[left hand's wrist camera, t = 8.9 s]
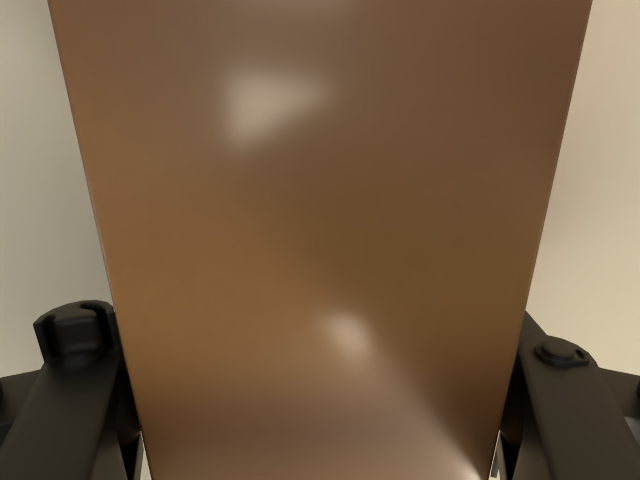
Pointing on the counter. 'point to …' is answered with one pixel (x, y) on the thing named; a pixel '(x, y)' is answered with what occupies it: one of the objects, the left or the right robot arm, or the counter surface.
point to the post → (319, 221)
